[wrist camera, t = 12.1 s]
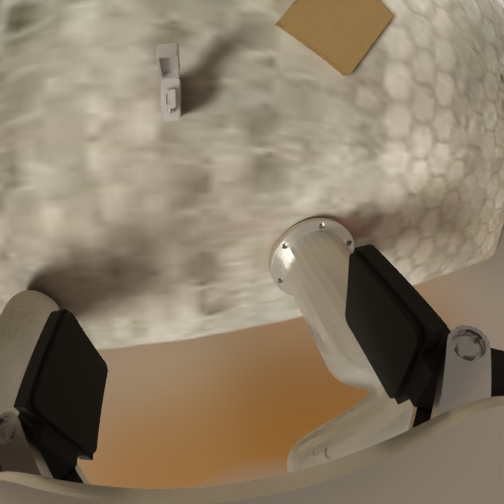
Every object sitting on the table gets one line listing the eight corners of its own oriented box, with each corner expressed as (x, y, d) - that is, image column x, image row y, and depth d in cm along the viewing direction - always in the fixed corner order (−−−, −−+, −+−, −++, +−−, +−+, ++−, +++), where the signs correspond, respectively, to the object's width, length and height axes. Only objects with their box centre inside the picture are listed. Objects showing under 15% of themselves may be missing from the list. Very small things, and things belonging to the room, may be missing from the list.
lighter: (181, 116, 28) (177, 123, 21) (165, 117, 28) (156, 125, 21) (181, 54, 24) (177, 41, 18) (165, 55, 24) (156, 43, 17)
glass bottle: (61, 279, 35) (0, 465, 11) (74, 330, 40) (43, 493, 16) (10, 274, 32) (-65, 431, 9) (26, 323, 37) (-18, 469, 14)
